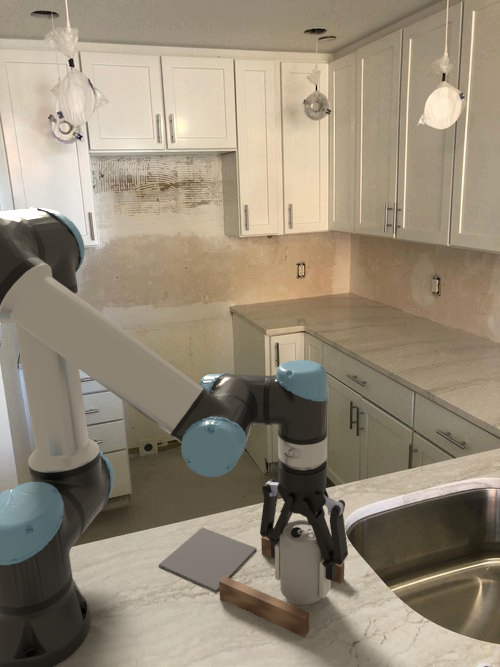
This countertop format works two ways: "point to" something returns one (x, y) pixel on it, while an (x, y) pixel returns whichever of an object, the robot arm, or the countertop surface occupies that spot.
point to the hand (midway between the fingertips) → (302, 583)
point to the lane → (269, 600)
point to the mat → (208, 558)
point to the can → (299, 563)
